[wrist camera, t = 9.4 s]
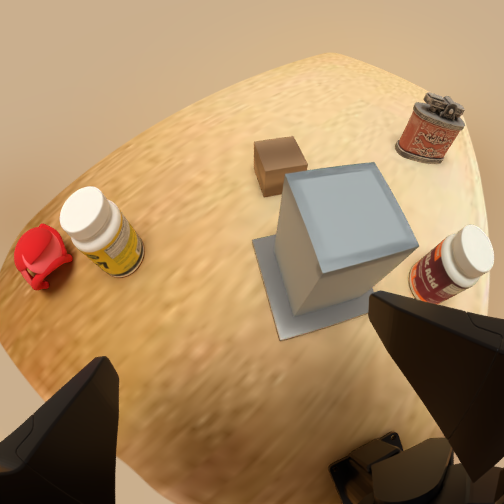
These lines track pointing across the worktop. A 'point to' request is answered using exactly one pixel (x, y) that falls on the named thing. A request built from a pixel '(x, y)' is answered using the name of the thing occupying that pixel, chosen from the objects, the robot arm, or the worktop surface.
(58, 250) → the red plastic curved piece
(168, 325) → the worktop surface
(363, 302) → the coaster
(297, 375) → the worktop surface
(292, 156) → the block
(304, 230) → the cover
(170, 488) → the worktop surface
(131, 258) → the supplement bottle
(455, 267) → the pill bottle
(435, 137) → the lighter
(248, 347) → the worktop surface
